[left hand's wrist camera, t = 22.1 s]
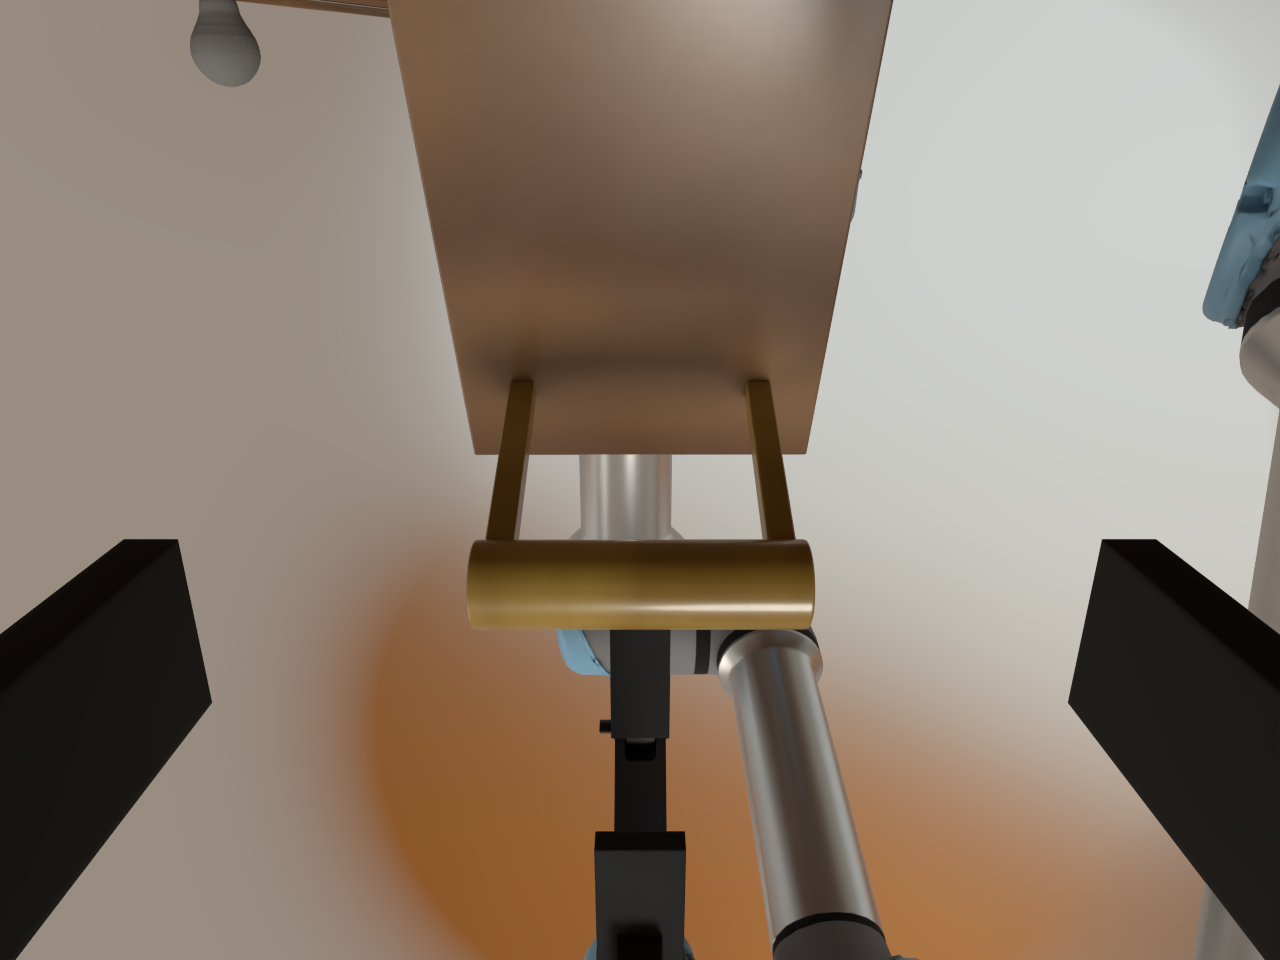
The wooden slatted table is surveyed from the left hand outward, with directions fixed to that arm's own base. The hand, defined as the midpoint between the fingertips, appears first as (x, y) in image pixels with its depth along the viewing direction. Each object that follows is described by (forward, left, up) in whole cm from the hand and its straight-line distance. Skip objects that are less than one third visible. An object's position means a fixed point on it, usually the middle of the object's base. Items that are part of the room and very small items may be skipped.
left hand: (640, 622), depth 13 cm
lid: (-9, +9, -4) cm, 13 cm away
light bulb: (-32, +83, -22) cm, 92 cm away
